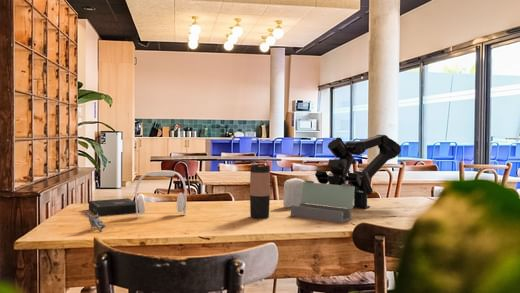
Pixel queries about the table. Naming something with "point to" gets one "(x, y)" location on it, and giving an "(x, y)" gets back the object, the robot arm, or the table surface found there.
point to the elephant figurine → (95, 221)
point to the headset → (181, 197)
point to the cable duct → (321, 212)
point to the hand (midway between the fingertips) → (330, 194)
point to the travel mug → (259, 191)
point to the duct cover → (328, 194)
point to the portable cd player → (112, 207)
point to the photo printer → (293, 192)
